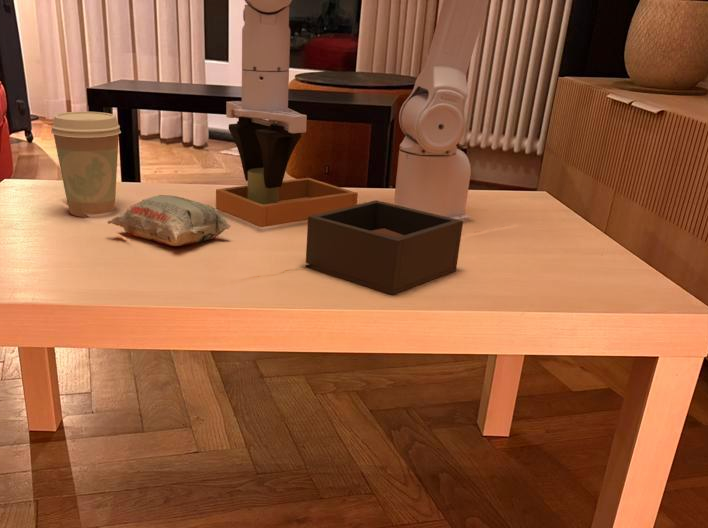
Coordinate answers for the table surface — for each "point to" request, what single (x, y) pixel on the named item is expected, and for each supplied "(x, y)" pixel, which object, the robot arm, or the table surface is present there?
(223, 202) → the brown wooden tray
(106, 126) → the coffee cup
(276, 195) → the green cylinder
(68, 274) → the table surface
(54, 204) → the table surface
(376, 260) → the black basket
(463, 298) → the table surface
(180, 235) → the packaged food
